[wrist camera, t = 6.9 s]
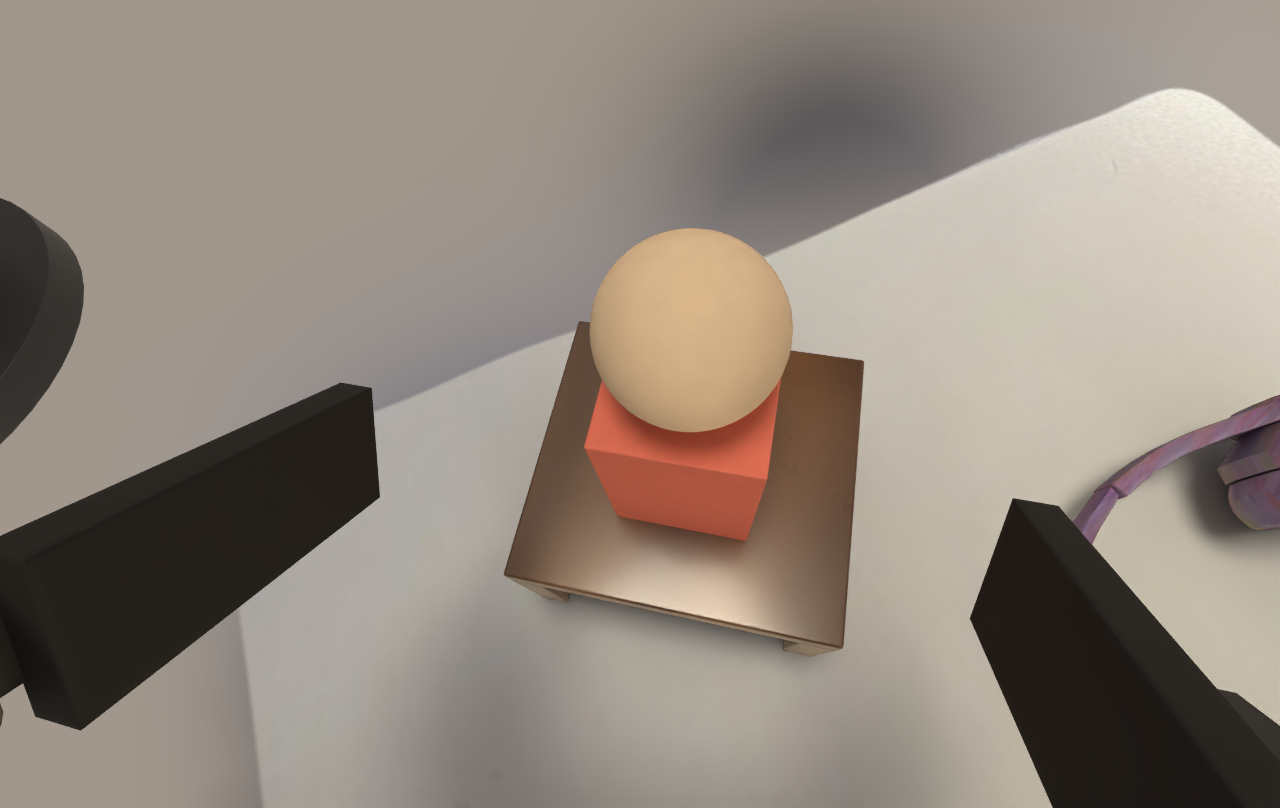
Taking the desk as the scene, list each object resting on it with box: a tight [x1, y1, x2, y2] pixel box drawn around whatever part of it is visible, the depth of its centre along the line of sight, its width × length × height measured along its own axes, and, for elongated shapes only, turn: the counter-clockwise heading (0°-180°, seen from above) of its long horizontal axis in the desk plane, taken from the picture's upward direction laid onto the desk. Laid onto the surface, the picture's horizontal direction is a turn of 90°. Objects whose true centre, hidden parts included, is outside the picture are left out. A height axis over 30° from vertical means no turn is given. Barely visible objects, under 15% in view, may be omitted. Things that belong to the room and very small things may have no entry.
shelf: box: [504, 321, 864, 656], centre depth 26 cm, size 12×11×6 cm
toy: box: [584, 228, 793, 541], centre depth 18 cm, size 5×5×12 cm
